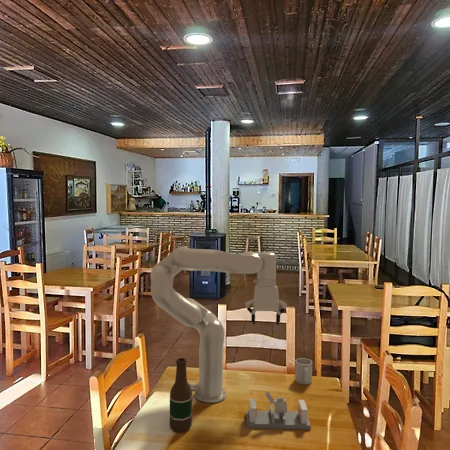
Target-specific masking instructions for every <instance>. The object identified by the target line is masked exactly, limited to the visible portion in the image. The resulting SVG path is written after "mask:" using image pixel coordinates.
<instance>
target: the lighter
mask: <svg viewBox="0 0 450 450" xmlns="http://www.w3.org/2000/svg"><path fill="white" fill-rule="evenodd" d="M264 394H265V397H266V398H267V400H268V401H269V403H270V404H271V405H273V404H274V411H275V413H276V414H280V413H287V411H288V407H287V399H286V398H285V397H283V396H279V397H277V396H276V399H274V397H273V396H272V395H271V393H270V392H269V391H265V392H264Z"/></svg>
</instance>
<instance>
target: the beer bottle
mask: <svg viewBox="0 0 450 450" xmlns="http://www.w3.org/2000/svg"><path fill="white" fill-rule="evenodd" d="M187 362H188V361H187V359H186V358H184V357H180V358H177V359H176V361H175V363H176V369H175V370H176V371H175V381H174V384H173V385H172V387H171V389H170V392H169V428H170V430H171V431H173V432H174V433H180V434H183V433H185V432H188V431H190V429H191V427H192V424H193V391H192V389H191V386H190V385H189V384H190V383H189V382H188V378H187V377H188V375H187Z"/></svg>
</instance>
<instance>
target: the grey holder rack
mask: <svg viewBox="0 0 450 450" xmlns="http://www.w3.org/2000/svg"><path fill="white" fill-rule="evenodd" d="M248 403H249V404H248V409H247V410H246V411H245V412H246V413H245V417H246V418H245V419H246V428H247V429H272V430H273V429H276V430H277V429H278V430H305V431H306V430H310V431H311V430H312V429H311V426H312V425H311V423H310V419H309V417H308V414H309V413H308V411H309V410H308V409H309V408H308V407H307V404H306V401H305V400H304V399H298V402H297V411H290V410H289V411H288V410H287V413H280V414H276V413H275V410H274V408H273V405H269V410H258V407H257V401H256V399H255V398H249V401H248Z"/></svg>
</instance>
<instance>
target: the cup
mask: <svg viewBox="0 0 450 450" xmlns="http://www.w3.org/2000/svg"><path fill="white" fill-rule="evenodd" d="M294 364H295V367H294V369H295V371H294V380H295V382H296V383H298V384H300V385H303V386H304V385H305V386H306V385H310V384H312V382H313V360H311V359H309V358H306V357H300V358H299V357H298V358H297V359H295V363H294Z"/></svg>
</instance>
